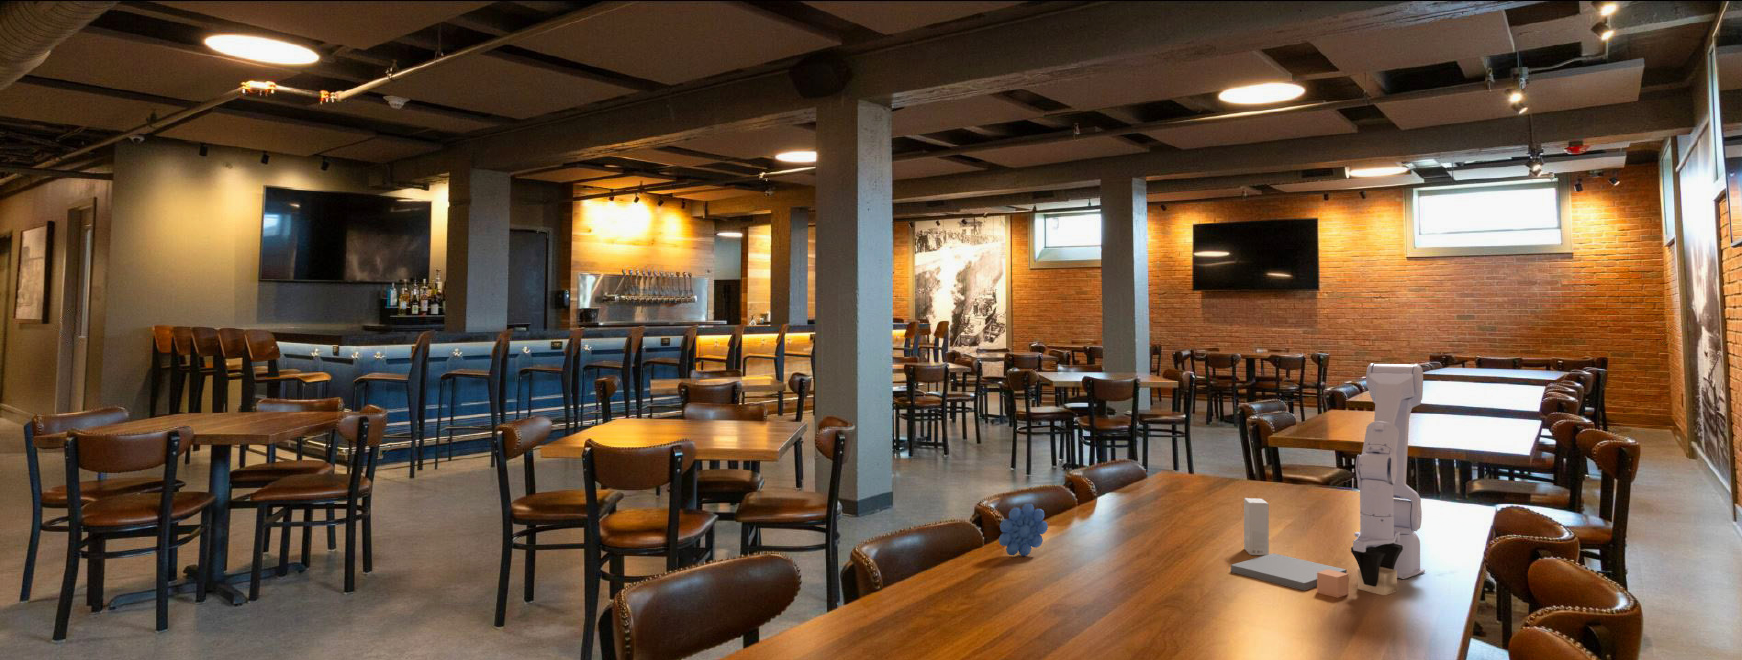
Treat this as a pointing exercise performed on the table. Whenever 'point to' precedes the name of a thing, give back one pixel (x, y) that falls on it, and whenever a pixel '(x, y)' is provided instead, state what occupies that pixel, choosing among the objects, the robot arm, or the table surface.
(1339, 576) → the terracotta cube
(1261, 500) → the skincare box
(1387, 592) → the birch block
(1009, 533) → the blue bead flower
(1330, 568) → the base board
